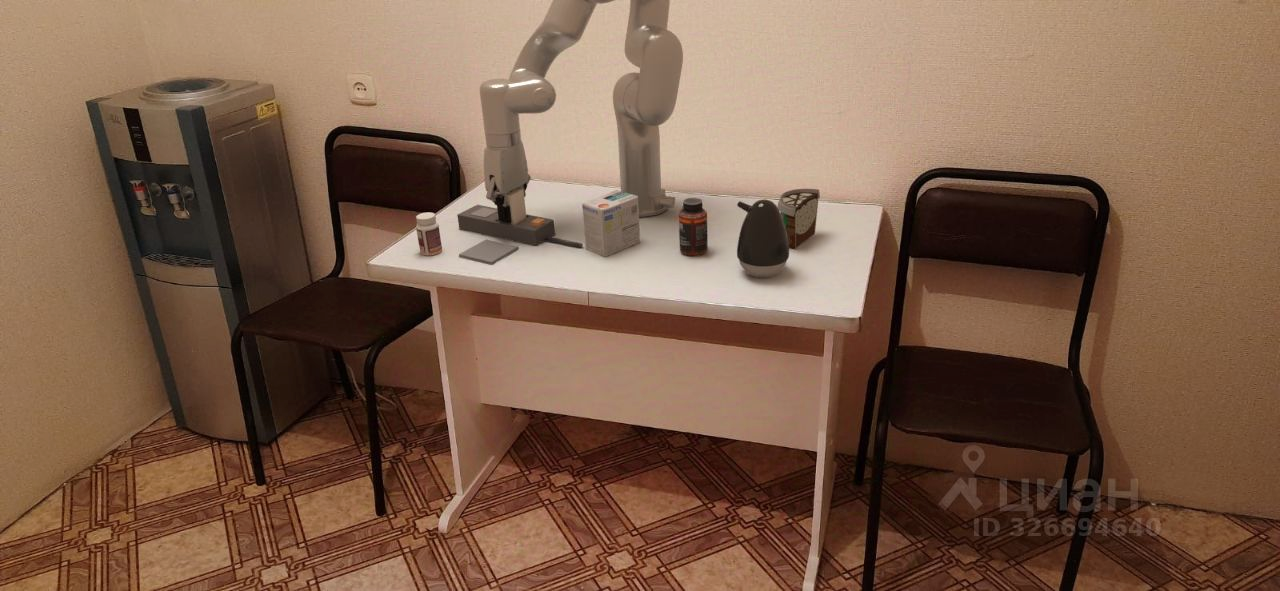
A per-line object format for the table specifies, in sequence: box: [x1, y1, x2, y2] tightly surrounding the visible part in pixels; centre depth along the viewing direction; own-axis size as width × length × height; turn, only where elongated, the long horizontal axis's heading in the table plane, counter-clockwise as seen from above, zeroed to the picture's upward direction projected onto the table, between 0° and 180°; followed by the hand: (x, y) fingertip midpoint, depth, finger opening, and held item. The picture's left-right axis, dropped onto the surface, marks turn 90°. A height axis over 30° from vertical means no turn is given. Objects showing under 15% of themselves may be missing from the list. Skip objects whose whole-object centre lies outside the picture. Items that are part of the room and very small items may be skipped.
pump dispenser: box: [736, 199, 790, 278], centre depth 176 cm, size 10×10×15 cm
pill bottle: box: [415, 212, 443, 257], centre depth 194 cm, size 5×5×8 cm
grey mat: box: [458, 239, 519, 265], centre depth 193 cm, size 9×9×1 cm
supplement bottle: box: [678, 197, 709, 257], centre depth 187 cm, size 6×6×11 cm
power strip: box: [456, 204, 584, 249], centre depth 200 cm, size 32×7×4 cm, turn 59°
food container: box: [776, 188, 821, 250], centre depth 191 cm, size 12×6×10 cm, turn 145°
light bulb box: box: [581, 189, 641, 258], centre depth 192 cm, size 11×7×11 cm, turn 134°
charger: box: [497, 188, 527, 225], centre depth 200 cm, size 4×4×8 cm
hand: (512, 217), depth 201 cm, fingers closed on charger, 4 cm apart
